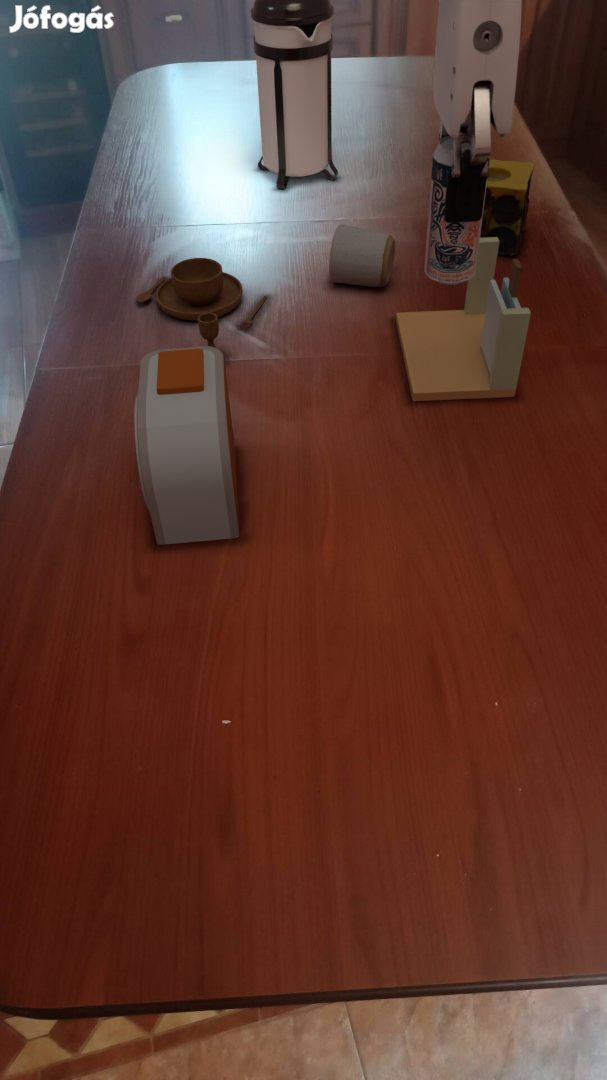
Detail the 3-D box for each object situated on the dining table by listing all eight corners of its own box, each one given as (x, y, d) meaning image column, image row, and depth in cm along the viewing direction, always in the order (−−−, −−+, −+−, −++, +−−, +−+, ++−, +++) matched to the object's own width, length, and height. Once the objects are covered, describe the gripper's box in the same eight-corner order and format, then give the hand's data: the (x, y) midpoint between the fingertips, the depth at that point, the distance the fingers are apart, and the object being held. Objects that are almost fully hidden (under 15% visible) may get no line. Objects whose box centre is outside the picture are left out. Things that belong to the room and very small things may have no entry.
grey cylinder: (385, 298, 110) (388, 244, 105) (327, 291, 112) (327, 238, 107) (398, 263, 118) (402, 211, 112) (344, 257, 119) (345, 206, 114)
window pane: (497, 343, 99) (513, 247, 90) (509, 376, 94) (527, 279, 85) (492, 343, 99) (508, 247, 90) (504, 376, 94) (522, 279, 85)
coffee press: (356, 162, 144) (360, -41, 122) (315, 197, 134) (312, -17, 112) (272, 148, 150) (261, -48, 128) (227, 180, 140) (207, -26, 118)
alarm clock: (158, 449, 89) (136, 343, 79) (234, 443, 90) (222, 337, 80) (154, 545, 79) (128, 437, 69) (240, 537, 79) (226, 429, 69)
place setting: (275, 289, 113) (273, 249, 109) (223, 367, 100) (218, 326, 96) (162, 274, 117) (156, 235, 113) (98, 347, 104) (88, 306, 100)
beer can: (422, 287, 75) (432, 153, 66) (424, 262, 78) (434, 132, 69) (475, 289, 74) (492, 154, 65) (475, 264, 77) (491, 132, 69)
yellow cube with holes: (525, 228, 124) (537, 161, 117) (517, 258, 117) (529, 189, 110) (459, 221, 126) (467, 155, 119) (448, 250, 120) (455, 182, 112)
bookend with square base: (485, 316, 106) (497, 236, 99) (514, 397, 94) (531, 313, 86) (395, 320, 106) (400, 241, 99) (412, 401, 94) (419, 317, 86)
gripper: (564, -18, 52) (520, 249, 65) (507, -69, 64) (479, 166, 77) (449, -11, 52) (429, 254, 65) (413, -63, 64) (402, 170, 77)
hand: (456, 204), depth 71 cm, fingers closed on beer can, 4 cm apart
